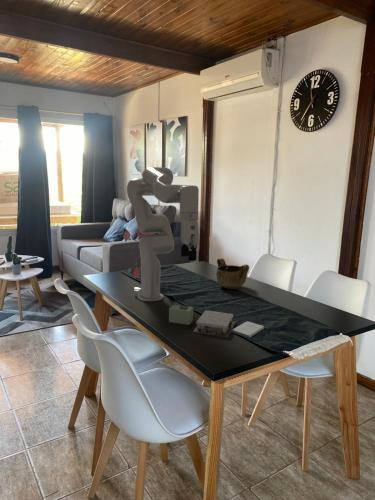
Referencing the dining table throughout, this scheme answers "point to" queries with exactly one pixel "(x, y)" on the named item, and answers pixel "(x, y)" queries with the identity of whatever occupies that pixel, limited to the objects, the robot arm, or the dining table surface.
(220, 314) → the chassis
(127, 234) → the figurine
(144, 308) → the dining table surface
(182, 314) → the pale green block
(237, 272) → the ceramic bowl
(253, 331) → the external hard drive
